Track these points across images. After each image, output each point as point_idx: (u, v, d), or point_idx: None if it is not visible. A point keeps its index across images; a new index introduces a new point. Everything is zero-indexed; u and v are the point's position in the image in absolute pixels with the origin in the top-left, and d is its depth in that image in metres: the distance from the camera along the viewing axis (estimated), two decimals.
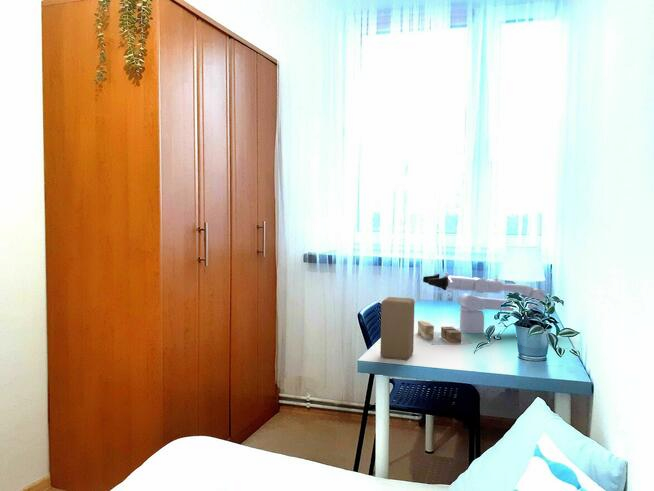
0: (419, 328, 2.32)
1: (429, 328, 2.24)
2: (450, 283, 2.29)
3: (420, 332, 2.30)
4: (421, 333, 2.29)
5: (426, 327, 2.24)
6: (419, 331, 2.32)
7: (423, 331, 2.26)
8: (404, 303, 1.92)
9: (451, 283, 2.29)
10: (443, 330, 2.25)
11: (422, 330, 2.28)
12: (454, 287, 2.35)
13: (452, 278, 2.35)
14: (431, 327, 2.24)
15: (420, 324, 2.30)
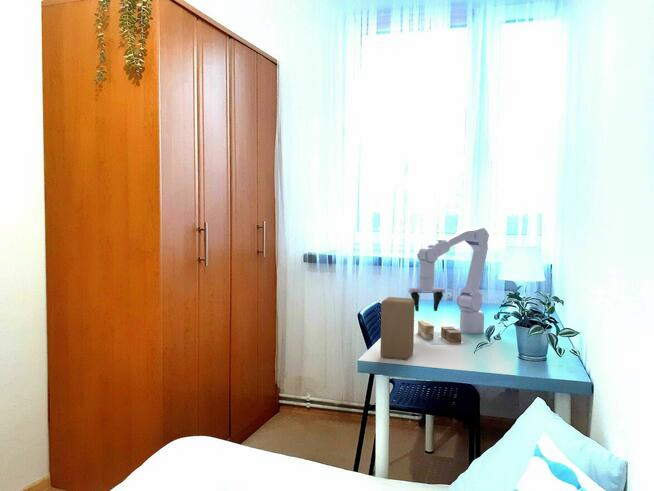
0: (419, 328, 2.32)
1: (429, 328, 2.24)
2: None
3: (420, 332, 2.30)
4: (421, 333, 2.29)
5: (426, 327, 2.24)
6: (419, 331, 2.32)
7: (423, 331, 2.26)
8: (404, 303, 1.92)
9: None
10: (443, 330, 2.25)
11: (422, 330, 2.28)
12: None
13: (433, 285, 2.26)
14: (431, 327, 2.24)
15: (420, 324, 2.30)
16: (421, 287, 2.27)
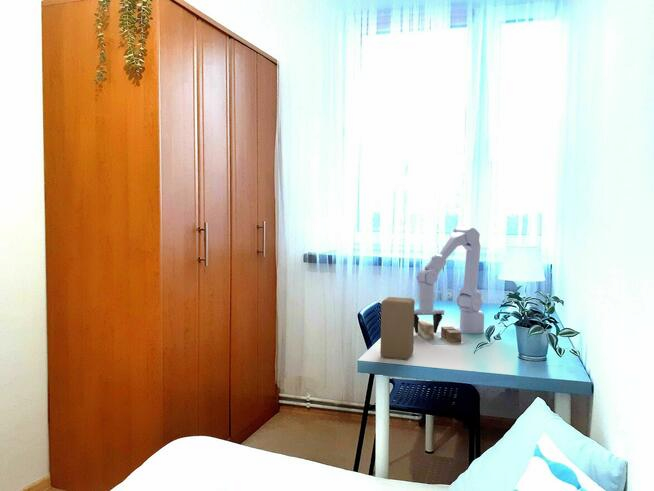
0: (419, 328, 2.32)
1: (429, 328, 2.24)
2: None
3: (420, 332, 2.30)
4: (421, 333, 2.29)
5: (426, 327, 2.24)
6: (419, 331, 2.32)
7: (423, 331, 2.26)
8: (404, 303, 1.92)
9: None
10: (443, 330, 2.25)
11: (422, 330, 2.28)
12: None
13: (432, 307, 2.27)
14: (431, 327, 2.24)
15: (420, 324, 2.30)
16: (420, 309, 2.27)
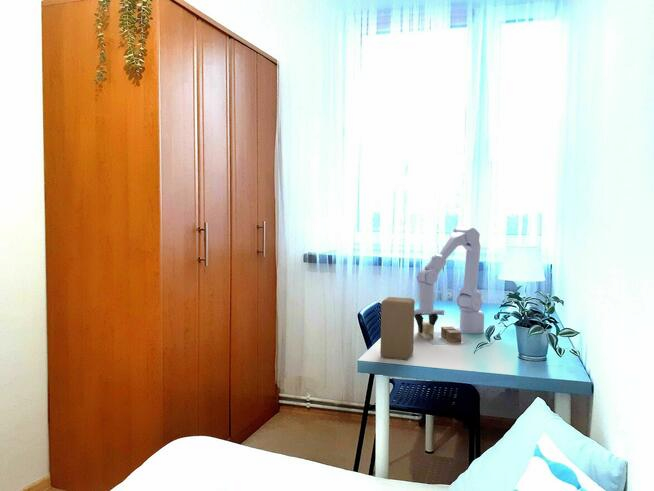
0: None
1: (429, 328, 2.24)
2: None
3: None
4: (421, 333, 2.29)
5: (426, 327, 2.24)
6: None
7: (423, 331, 2.26)
8: (404, 303, 1.92)
9: None
10: (443, 330, 2.25)
11: (422, 330, 2.28)
12: None
13: (432, 307, 2.27)
14: (431, 327, 2.24)
15: None
16: (420, 309, 2.27)
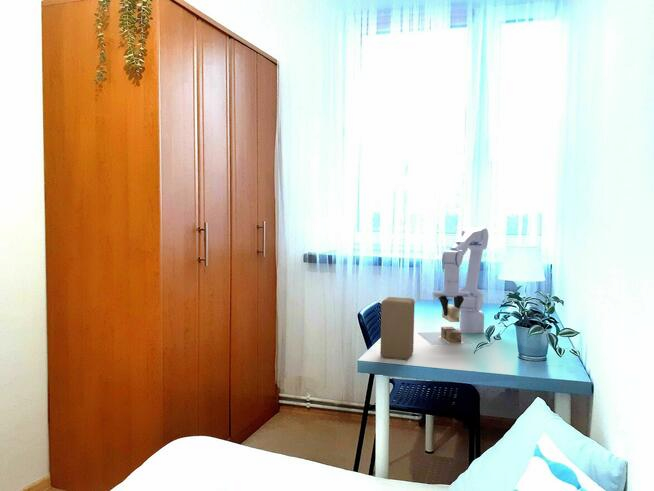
0: None
1: (455, 311, 2.17)
2: None
3: (445, 316, 2.24)
4: (446, 317, 2.22)
5: (452, 310, 2.17)
6: None
7: (448, 314, 2.19)
8: (404, 303, 1.92)
9: None
10: (443, 330, 2.25)
11: (447, 313, 2.21)
12: None
13: (458, 289, 2.20)
14: (457, 310, 2.17)
15: None
16: (446, 291, 2.20)
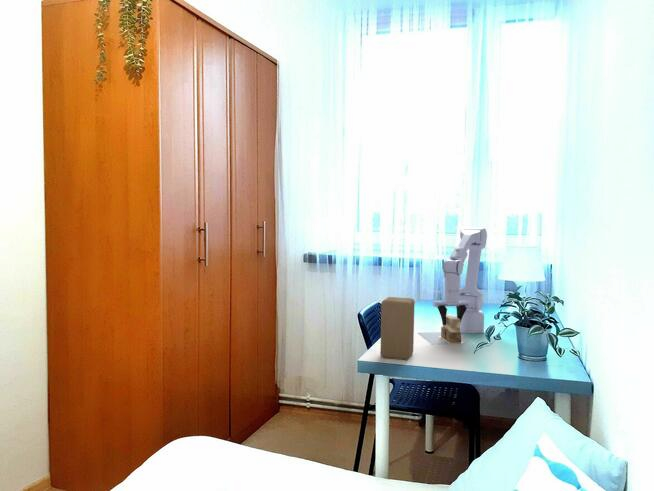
0: None
1: (456, 321, 2.17)
2: None
3: (445, 326, 2.24)
4: (447, 327, 2.22)
5: (452, 321, 2.17)
6: (444, 325, 2.25)
7: (449, 325, 2.20)
8: (404, 303, 1.92)
9: None
10: (443, 330, 2.25)
11: (447, 324, 2.22)
12: None
13: (458, 298, 2.20)
14: (457, 321, 2.18)
15: None
16: (446, 300, 2.20)
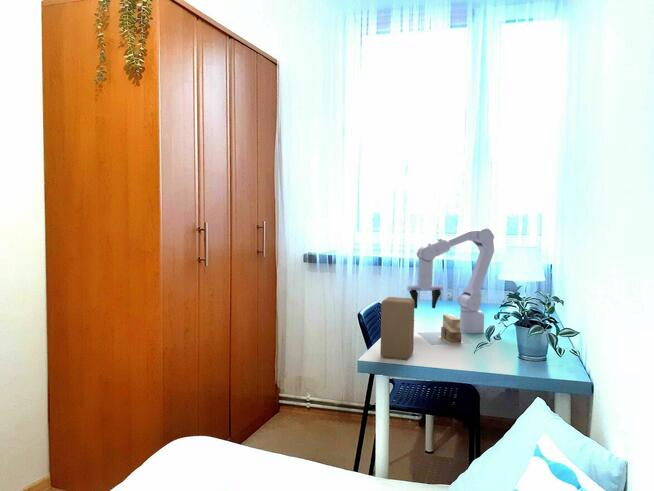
0: (444, 322, 2.25)
1: (456, 321, 2.17)
2: None
3: (445, 326, 2.24)
4: (447, 327, 2.22)
5: (452, 321, 2.17)
6: (444, 325, 2.25)
7: (449, 325, 2.20)
8: (404, 303, 1.92)
9: None
10: (443, 330, 2.25)
11: (447, 324, 2.22)
12: None
13: (431, 283, 2.32)
14: (457, 321, 2.18)
15: (445, 318, 2.24)
16: (420, 285, 2.33)
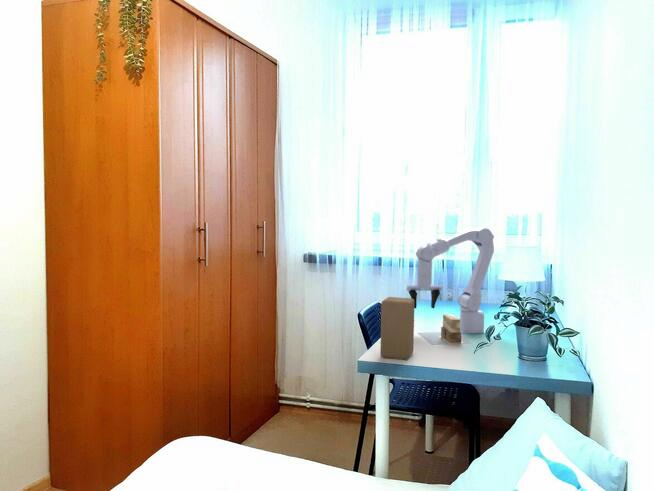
0: (444, 322, 2.25)
1: (456, 321, 2.17)
2: None
3: (445, 326, 2.24)
4: (447, 327, 2.22)
5: (452, 321, 2.17)
6: (444, 325, 2.25)
7: (449, 325, 2.20)
8: (404, 303, 1.92)
9: None
10: (443, 330, 2.25)
11: (447, 324, 2.22)
12: None
13: (430, 283, 2.33)
14: (457, 321, 2.18)
15: (445, 318, 2.24)
16: (419, 285, 2.33)
